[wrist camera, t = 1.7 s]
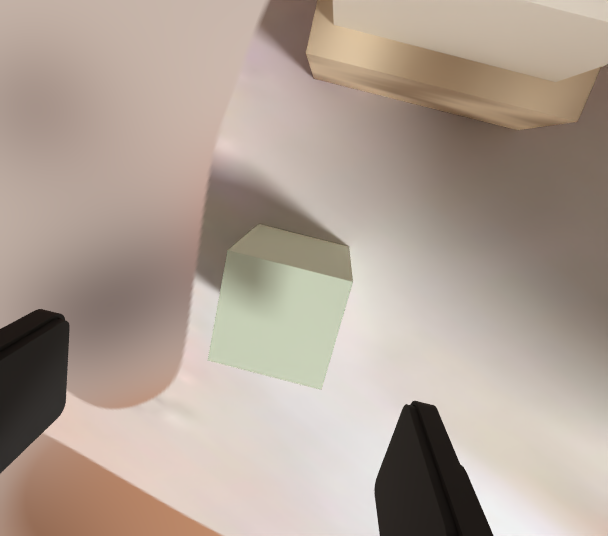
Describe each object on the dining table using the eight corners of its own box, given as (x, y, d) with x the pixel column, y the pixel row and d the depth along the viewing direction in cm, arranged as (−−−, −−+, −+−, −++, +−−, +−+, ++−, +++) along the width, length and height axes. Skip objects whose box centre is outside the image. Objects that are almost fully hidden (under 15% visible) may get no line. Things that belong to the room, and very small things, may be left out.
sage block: (349, 246, 20) (352, 281, 15) (326, 328, 22) (321, 389, 16) (258, 223, 20) (227, 249, 15) (242, 306, 22) (207, 360, 16)
